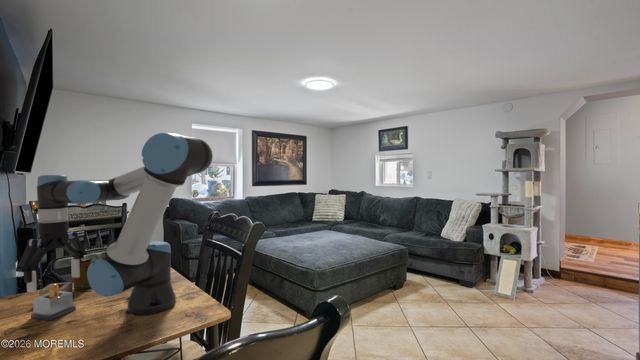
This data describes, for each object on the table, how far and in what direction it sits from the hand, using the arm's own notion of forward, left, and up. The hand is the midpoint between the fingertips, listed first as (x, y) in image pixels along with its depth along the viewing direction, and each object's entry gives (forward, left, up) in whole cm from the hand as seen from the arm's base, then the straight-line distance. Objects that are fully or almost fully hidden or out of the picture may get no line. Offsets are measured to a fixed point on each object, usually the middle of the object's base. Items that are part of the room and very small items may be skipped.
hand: (55, 284), depth 99 cm
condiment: (+12, -20, -10) cm, 25 cm away
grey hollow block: (+1, 0, -9) cm, 9 cm away
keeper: (+1, 0, -10) cm, 10 cm away
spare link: (+12, -9, -10) cm, 18 cm away
